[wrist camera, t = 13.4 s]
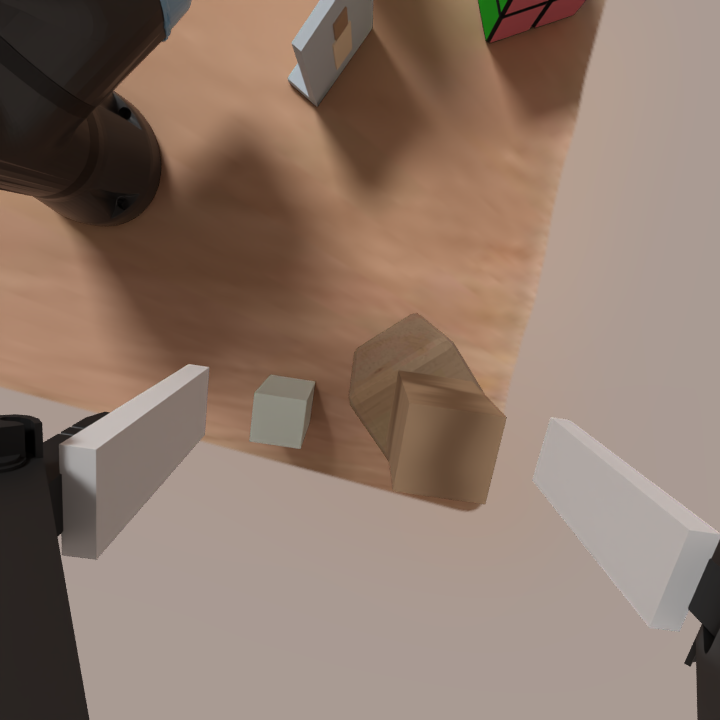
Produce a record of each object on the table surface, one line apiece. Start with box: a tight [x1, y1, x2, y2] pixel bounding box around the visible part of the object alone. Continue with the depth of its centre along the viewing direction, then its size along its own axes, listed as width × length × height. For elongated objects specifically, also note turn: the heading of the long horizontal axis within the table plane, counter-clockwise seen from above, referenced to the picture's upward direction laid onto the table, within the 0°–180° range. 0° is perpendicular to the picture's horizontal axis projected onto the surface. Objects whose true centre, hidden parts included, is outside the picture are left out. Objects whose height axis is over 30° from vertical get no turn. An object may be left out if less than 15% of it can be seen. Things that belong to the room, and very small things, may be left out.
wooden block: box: [349, 313, 484, 461], centre depth 43 cm, size 10×10×20 cm
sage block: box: [249, 375, 315, 449], centre depth 50 cm, size 6×6×8 cm
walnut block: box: [386, 370, 507, 504], centre depth 29 cm, size 6×6×8 cm
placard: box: [288, 0, 373, 107], centre depth 39 cm, size 4×10×12 cm, turn 141°
